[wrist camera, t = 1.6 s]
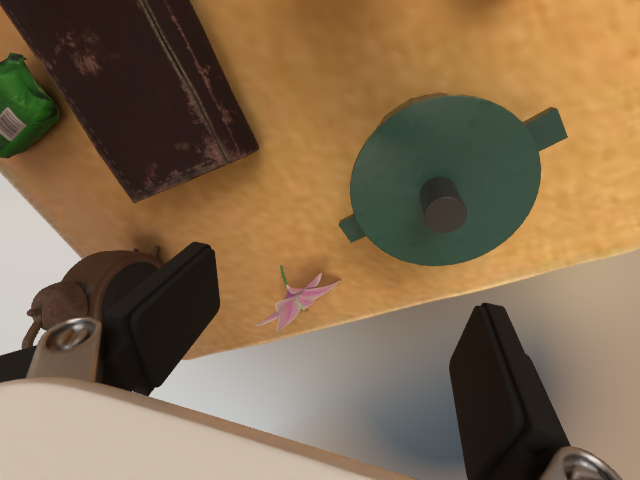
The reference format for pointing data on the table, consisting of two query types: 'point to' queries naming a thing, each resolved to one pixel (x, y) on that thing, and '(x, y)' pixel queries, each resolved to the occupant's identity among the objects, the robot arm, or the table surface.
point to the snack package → (22, 107)
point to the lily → (296, 301)
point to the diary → (139, 86)
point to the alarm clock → (90, 288)
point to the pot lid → (445, 180)
